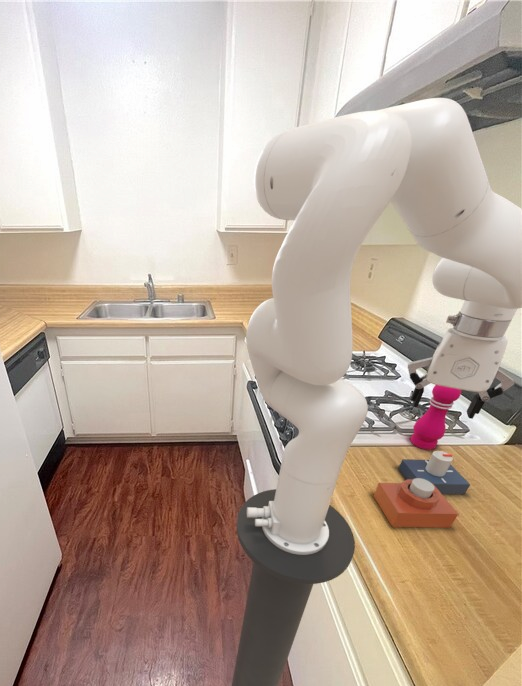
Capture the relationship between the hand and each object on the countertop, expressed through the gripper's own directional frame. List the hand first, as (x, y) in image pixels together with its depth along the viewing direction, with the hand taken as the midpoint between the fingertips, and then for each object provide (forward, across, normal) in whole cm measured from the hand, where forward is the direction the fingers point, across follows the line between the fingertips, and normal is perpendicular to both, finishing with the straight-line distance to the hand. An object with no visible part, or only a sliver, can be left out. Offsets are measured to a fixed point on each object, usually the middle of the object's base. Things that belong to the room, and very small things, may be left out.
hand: (441, 409), depth 71 cm
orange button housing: (+20, 0, -10) cm, 22 cm away
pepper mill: (+21, +4, +21) cm, 30 cm away
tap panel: (+20, +5, +4) cm, 21 cm away
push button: (+14, +1, -10) cm, 17 cm away
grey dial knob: (+17, +5, +4) cm, 18 cm away
